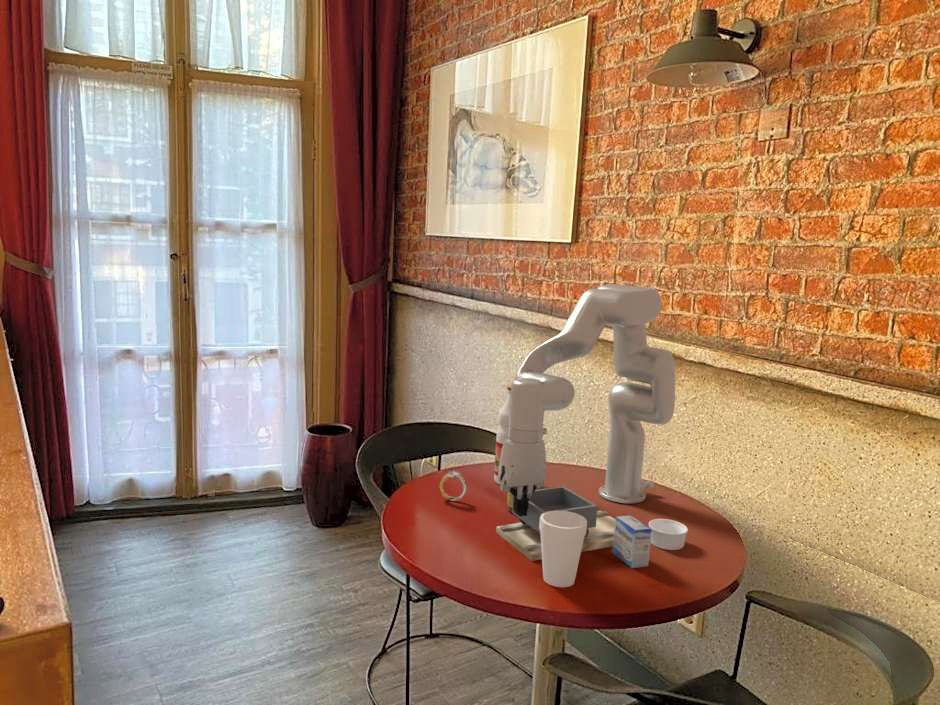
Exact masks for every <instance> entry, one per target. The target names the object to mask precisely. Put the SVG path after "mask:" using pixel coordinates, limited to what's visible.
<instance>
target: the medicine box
mask: <svg viewBox="0 0 940 705" xmlns="http://www.w3.org/2000/svg"><path fill="white" fill-rule="evenodd" d="M651 534H652V529H650V528H649V526H647V525H646V524H645V523H643V522H641V521H640V520H638V519H637V518H636V517H635V516H632V515H624V516H623V515H620V516H615V530H614V540H613V546H612V551H611V552H612V554H613V556H615V557H617V558H618V559H619V560H620V561H621V562H623V563H625V564H626V565H627V566H629V568H631V569H636V568H645V567H649V561H650V552H651V545H652V543H651Z"/></svg>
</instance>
